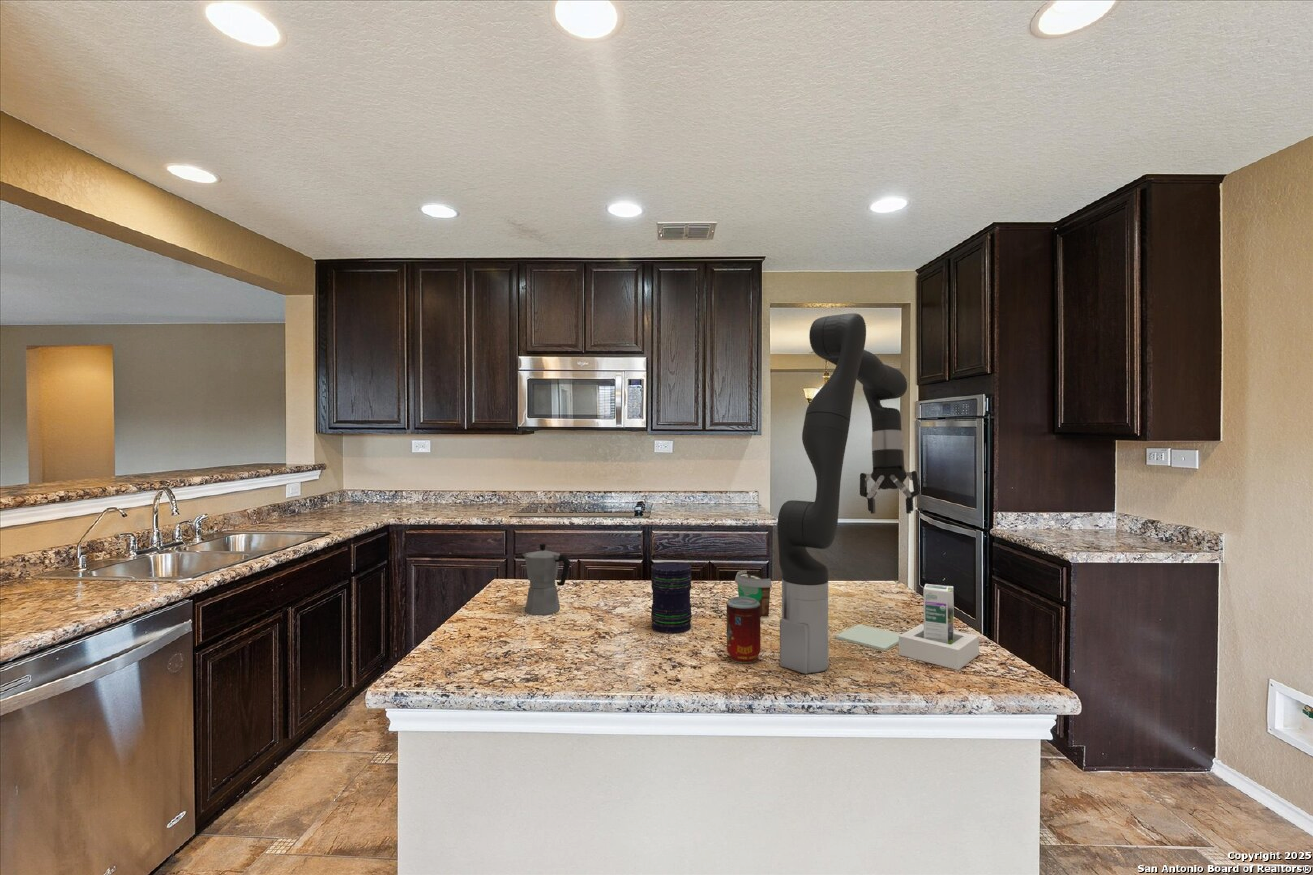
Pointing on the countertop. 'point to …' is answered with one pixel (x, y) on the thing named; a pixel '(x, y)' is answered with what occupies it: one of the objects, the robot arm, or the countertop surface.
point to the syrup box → (939, 613)
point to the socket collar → (939, 648)
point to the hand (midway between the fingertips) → (890, 513)
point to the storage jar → (671, 597)
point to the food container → (754, 589)
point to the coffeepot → (544, 580)
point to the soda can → (743, 629)
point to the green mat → (870, 637)
